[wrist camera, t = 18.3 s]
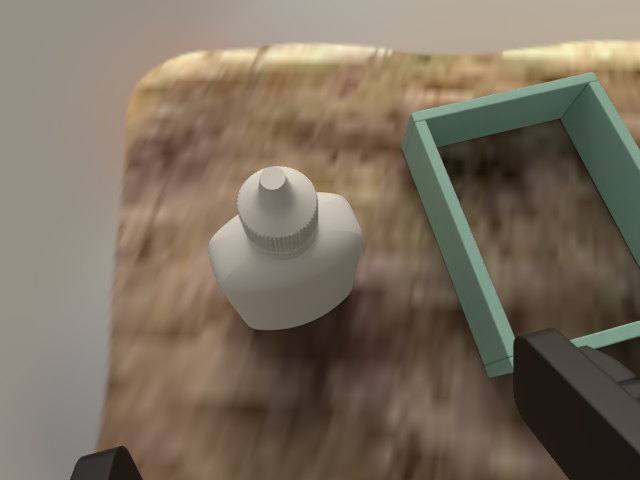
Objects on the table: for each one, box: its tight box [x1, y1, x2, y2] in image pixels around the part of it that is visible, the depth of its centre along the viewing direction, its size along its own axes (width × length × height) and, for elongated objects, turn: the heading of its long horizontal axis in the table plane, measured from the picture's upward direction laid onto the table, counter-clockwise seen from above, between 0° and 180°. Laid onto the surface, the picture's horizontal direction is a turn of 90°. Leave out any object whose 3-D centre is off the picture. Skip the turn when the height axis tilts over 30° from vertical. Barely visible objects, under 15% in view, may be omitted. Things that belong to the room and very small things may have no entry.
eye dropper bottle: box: [208, 166, 362, 330], centre depth 18 cm, size 4×6×12 cm
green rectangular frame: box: [401, 72, 640, 378], centre depth 23 cm, size 13×10×3 cm
